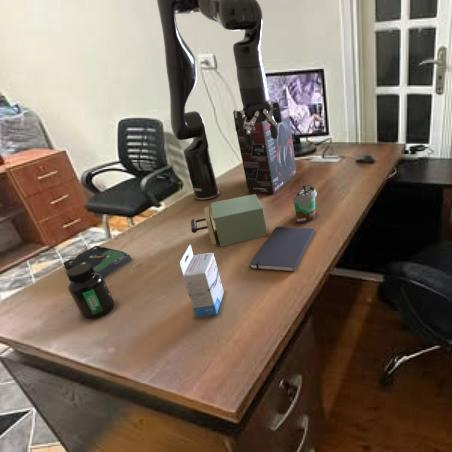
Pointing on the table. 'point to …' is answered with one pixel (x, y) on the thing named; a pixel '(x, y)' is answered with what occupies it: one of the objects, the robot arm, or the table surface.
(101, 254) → the disk drive
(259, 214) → the cabinet
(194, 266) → the ink box
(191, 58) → the robot arm
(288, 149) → the headset box
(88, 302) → the supplement bottle
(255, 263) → the notebook
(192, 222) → the drawer
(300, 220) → the food container
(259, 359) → the table surface
